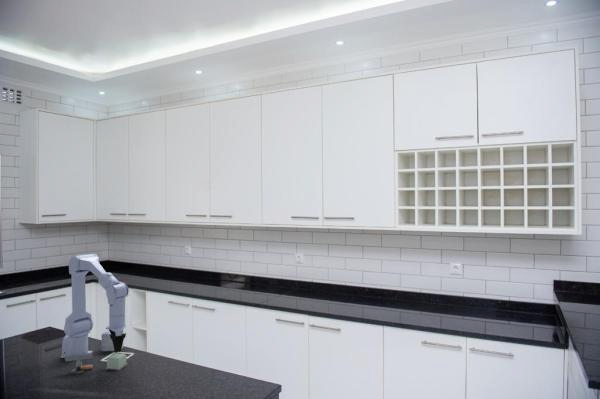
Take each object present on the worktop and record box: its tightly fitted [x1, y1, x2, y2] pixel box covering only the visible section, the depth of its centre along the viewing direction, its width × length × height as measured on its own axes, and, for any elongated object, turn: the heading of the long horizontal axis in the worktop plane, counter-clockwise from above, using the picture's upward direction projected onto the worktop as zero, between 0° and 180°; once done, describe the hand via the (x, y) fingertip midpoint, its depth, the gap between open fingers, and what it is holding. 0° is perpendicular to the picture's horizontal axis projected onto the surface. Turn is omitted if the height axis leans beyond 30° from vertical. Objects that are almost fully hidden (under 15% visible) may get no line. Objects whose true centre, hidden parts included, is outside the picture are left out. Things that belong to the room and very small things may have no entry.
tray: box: [99, 351, 136, 363], centre depth 162 cm, size 10×10×2 cm
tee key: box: [64, 351, 93, 371], centre depth 150 cm, size 9×2×6 cm, turn 109°
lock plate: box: [71, 363, 128, 374], centre depth 151 cm, size 22×12×1 cm, turn 81°
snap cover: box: [106, 353, 127, 370], centre depth 154 cm, size 5×5×4 cm
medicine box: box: [101, 330, 124, 352], centre depth 171 cm, size 8×4×9 cm, turn 92°
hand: (117, 348), depth 154 cm, fingers open, 7 cm apart
